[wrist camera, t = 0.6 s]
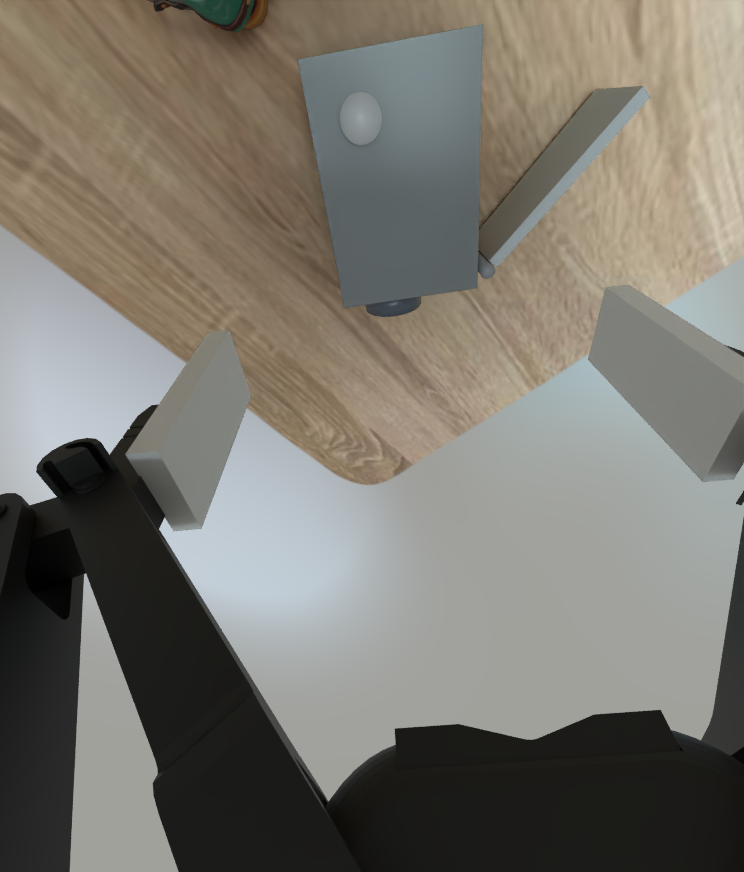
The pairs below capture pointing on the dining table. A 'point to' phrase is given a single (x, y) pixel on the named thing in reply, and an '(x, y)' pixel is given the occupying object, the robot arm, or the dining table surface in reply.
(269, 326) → the dining table surface
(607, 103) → the side door
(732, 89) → the dining table surface
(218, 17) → the binoculars
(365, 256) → the camera body
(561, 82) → the dining table surface
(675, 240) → the dining table surface
